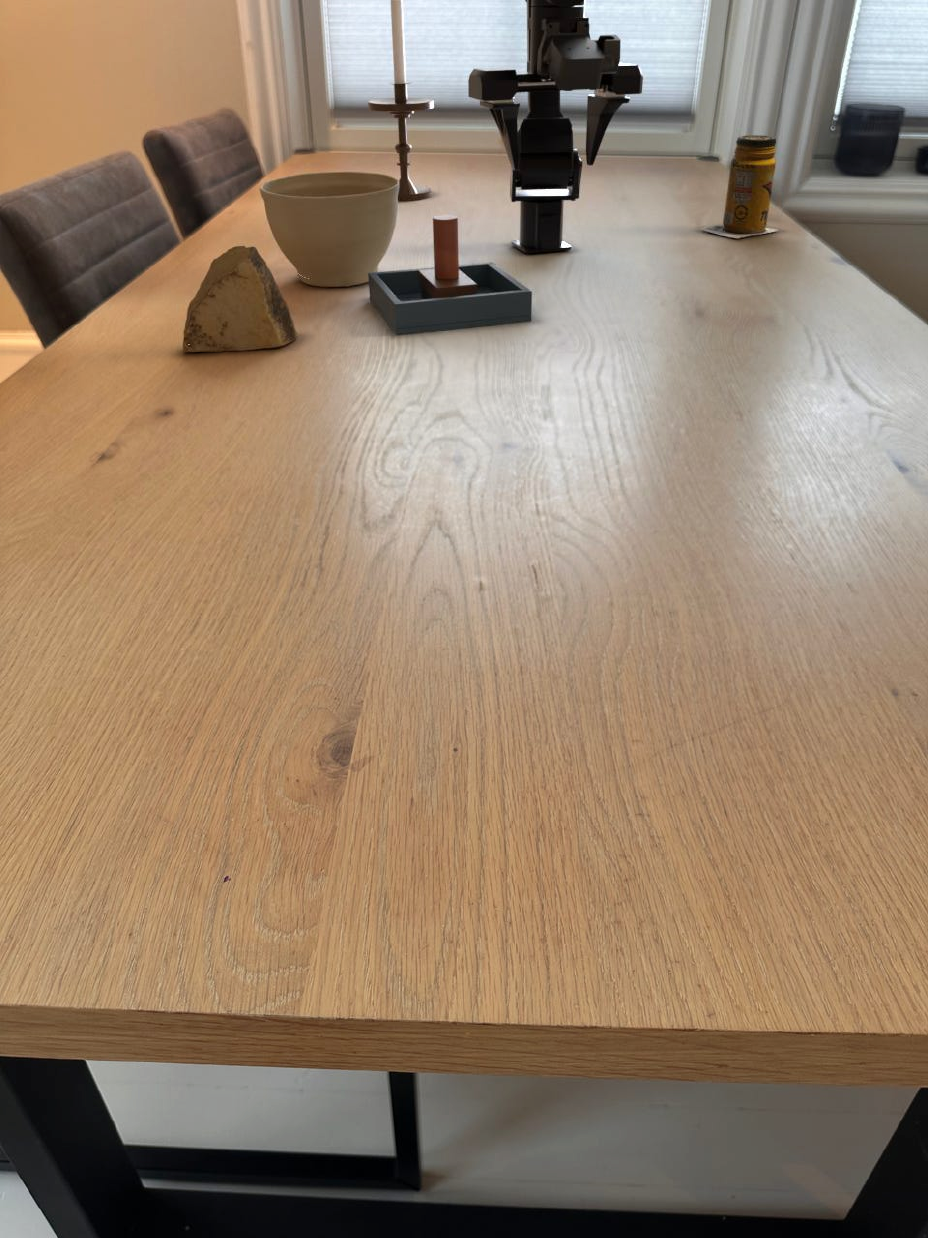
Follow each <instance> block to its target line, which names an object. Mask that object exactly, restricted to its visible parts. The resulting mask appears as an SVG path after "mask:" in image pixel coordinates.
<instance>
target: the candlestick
mask: <svg viewBox="0 0 928 1238" xmlns="http://www.w3.org/2000/svg"><path fill="white" fill-rule="evenodd" d="M403 7H404V5H403V0H390V13H391V14H390V17H391V18H390V19H391V38H392V40H391V41H392V59H393V77H394V78H393V80H394V81H391V82H388V84H389V85H393V92H394V93H393V94H394V97H392V98H391V97H390V98H377V99H371V100H368V101H367V106H368V107H367V108H368V110H369V111H375V112H388V114H390V115H392V116H393V118H395V119H397V131H398V143H397V144H396V145H395V146H394V150H395V152H396V154H398V161H397V162H396V166H399V173H400V174H399V175H400V177H399V179H398V180H399V192H398V202H399V201H404V202H405V201H417V200H418V201H419V200H424V199H428V198H430V197H432V188H431V187H428V186H425V185H424V186H422V185H415V184H413V182H412V180H411V178H410V177H409V166H411V165H412V162H411V161H409V154H410V153H411V151H412V145H411V144H410V143H408V135H407V134H408V133H407V119H408V118H411V115H413V114H414V113H415V112H419V111H428V110H432V109H434V108H435V99H432V98H428V97H427V98H425V97H408V85H409V84H413V82H412V81H407V78H406V77H407V74H406V49H405V29H404V27H405V26H404V8H403Z"/></svg>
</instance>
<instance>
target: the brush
mask: <svg viewBox="0 0 928 1238" xmlns="http://www.w3.org/2000/svg"><path fill="white" fill-rule="evenodd" d="M432 234H433V235H432V236H433V237H432V238H433V265H434V269H427V270H418V277H419V285H420V286H421V296H422V299H423V300H424V299H435V298H445V297H456V296H467V295H477V284H476V283H475V282H474V281H472V280H471V279H470V278H469V277H468V276H466V275H465V274H464V273H463V272H462V271H461V270H459V265H460V263H459V262H460V260H459V258H460V256H459V218H458V216H457V215H454V214H453V215H452V214H439V215H435V216H433V217H432Z"/></svg>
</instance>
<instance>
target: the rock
mask: <svg viewBox="0 0 928 1238" xmlns="http://www.w3.org/2000/svg"><path fill="white" fill-rule="evenodd" d="M298 335H299V334H298V331H297V329H296V326H295V322H294V320H293V318H292V316H291V312H290V307H289V305H288V302H287V300H286V299H285V298H284V296H283V294H282V293H281V290H280V288H279V285H278V284H277V282H276V280H275V277H274V275H273V273H272V271H271V269H270V268H269V267H268V265H267V262H266V261H265V260H264V258H263V257H262V256H261V254H260V252H259V251H258V248H257V247H256V246H248V247H246V246H245V245H236V246H232V247H231V248H229V249H227V251H225V252H223V253H222V254H220V255H219V256H217V258H214V259H213V260H212V261H211V263H210V265H209V268H208V271H207V272H206V275H205V276H204V279H203V280H202V282H201V284H200V287H199V288H198V290H197V292H196V294H195V295H194V297H193V298H192V299H191V300H190V302H189V304H188V307H187V311H186V320H185V323H184V329H183V340H182V351H183V352H184V353H198V352H202V353H203V352H204V353H205V352H207V353H210V352H211V353H214V352H215V353H218V352H219V353H222V352H229V351H235V352H236V351H237V352H241V351H253V350H261V349H262V350H263V349H273V348H280V347H283V346H286V345H288V344H290V343H291V342H293V341H295V340H296V339H297V337H298ZM188 344H190V345H188Z"/></svg>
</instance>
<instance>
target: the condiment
mask: <svg viewBox="0 0 928 1238" xmlns="http://www.w3.org/2000/svg"><path fill="white" fill-rule="evenodd" d="M776 144H777V138H775V136H771V135H758V134H755V135H753V134H752V135H750V134H749V135H741V136H738V137H737V139H736V141H735V149H734V151H733V152H734V155H733V156H732V159H731V160H730V163H729V164H730V165H729V173H728V181H727V189H726V198H725V203H724V204H725V205H724V212H723V220H722V222H723V223H722V224H723V225H721V224H720V225H716V224H715V225H713V226H708V227H706V226H705V227H704V226H703V227H701V228H700V227H699V230H703V231H704V232H707V233H712V234H715V235H719V236H720V237H721V236H724V237H728V238H734V239H740V238H747V237H752V236H759V235H765V234H771V233H775V232H779V229H777V228H776V229H775V228H771V227H766V226H767V223H768V217H769V211H770V205H771V197H772V193H773V192H772V191H773V185H774V184H773V183H774V179H775V177H774V176H775V172H776V164H777V163H776V159H775V156H774V155H776Z"/></svg>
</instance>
